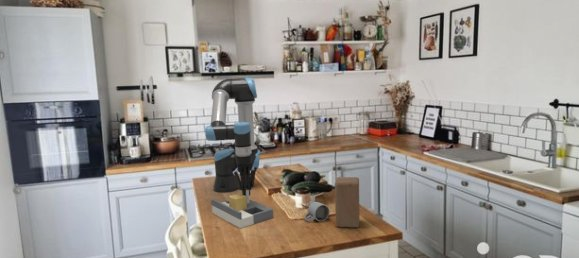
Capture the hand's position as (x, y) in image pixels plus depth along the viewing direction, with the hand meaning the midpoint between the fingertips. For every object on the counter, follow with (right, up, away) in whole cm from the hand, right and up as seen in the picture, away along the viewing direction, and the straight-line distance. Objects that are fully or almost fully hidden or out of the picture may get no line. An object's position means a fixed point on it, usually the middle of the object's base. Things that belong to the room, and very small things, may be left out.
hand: (246, 202), depth 185 cm
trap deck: (-2, -6, -1) cm, 6 cm away
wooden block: (+46, -6, -16) cm, 49 cm away
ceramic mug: (+33, -6, -9) cm, 35 cm away
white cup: (+30, -3, +11) cm, 32 cm away
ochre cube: (-4, -2, -3) cm, 5 cm away
